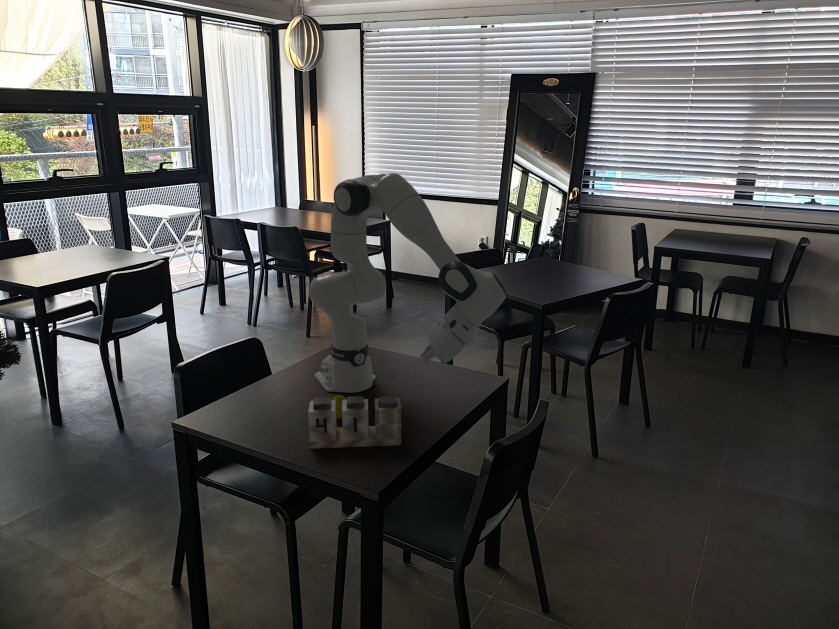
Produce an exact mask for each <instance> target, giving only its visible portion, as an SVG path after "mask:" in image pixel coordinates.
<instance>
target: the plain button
mask: <svg viewBox="0 0 839 629" xmlns="http://www.w3.org/2000/svg"><path fill="white" fill-rule="evenodd" d="M396 398H397V397H396V395H387V396H386V395H385V396H379V399H380V408H391V407H396Z"/></svg>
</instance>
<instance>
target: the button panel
mask: <svg viewBox="0 0 839 629" xmlns="http://www.w3.org/2000/svg"><path fill="white" fill-rule="evenodd" d="M395 398H396V407H391V408H380V398H374V414H375V415H374V417H375V418H374V422H375V425H370V426H369V400H368V399H369V398H364V396H361V395H359V396H347V397H346V399H347V400H343V402H342V418H341V420H342V422H341V423H342V427H341V426H340V427H339V426H338V425H337V418H336V400H332V399H331V397H330V396H328V397H327V396H326V397H314V398H313V400H310V401H309V406H308V410H307V415H308V433H309V449H311V450H312V449H337V448H360V447H362V448H363V447H387V446H388V447H389V446H390V445H391V446H403V445H402V444H403V443H402V406H401V398H400V397H395ZM337 426H338V427H337ZM391 446H390V447H391Z"/></svg>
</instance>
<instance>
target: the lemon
mask: <svg viewBox="0 0 839 629" xmlns="http://www.w3.org/2000/svg"><path fill="white" fill-rule="evenodd" d="M331 400H336V419H338V420H342V402H343V400H347V397H345V396H344V395H341V394H339V393H338V394H337V395H334V396H333V397H332V398H331Z"/></svg>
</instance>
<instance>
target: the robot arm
mask: <svg viewBox="0 0 839 629" xmlns="http://www.w3.org/2000/svg"><path fill="white" fill-rule="evenodd" d="M381 211H382V212H383V213H384V215H385V216H386V218H387V220H388V221H389V222H390V224H392V225H393V227H394V228H395V229H396V230H397V231H398V232H399V233H400V234H401V235H402V236H403V237H404V238H406V239H407V240H408V241H410V242H411V243H413V244H414V245H416V246H417V247H419V249H421V250H423V251H424V253H426V254H427V256H428V257H429V258H430V259H431V261H432V262H433V263H434V264H435V266H436V267H437V268H438V270H439V273H438V276H437V278H438V280H437V281H438V284H439V286H440V290H442V292H443V293H444V294H445V295H447V296H449V297H450V298H452V299H453V300H454V301H455V302H456V303H455V304H454V305H453V306H452V307H451V308H450V309H449V310H448V311H447V312H446V313H445V314H444V315H443V316H442V317H440V318H439V319H438V320H436V322H434V324H432V325H431V326H430V327H429V328H428V329H427V331H426V332H425V334H426V337H427V339H428V340H429V344H427V345H426V347H425V349H424V350H423V352H422V353H420V355H419V356H420V359H421V361H422V362H423V363H425V364H427V363H428V361H430V360H432V359H434V358H437V359H438V360H439V361H440V362H441V363H443V364H447V363H449V362H450V361H452V360H453V359H455V357H456V356H458V354H460V352H462V351H463V349H464V348H465V346H468V347H469V345H471V344H472V343H473V342H474V334H475V332H476V330H477V329H479V327H480V326H481V324H482V323H483V322H484V321H485V320H486V319H489V317H491V316H492V315H493V314H494V313H495V312H496V311H497V309H498V308H500V306H501V305H502V304H503V302H504V301H505V299H506V297H507V290H506V288H505V286H504V284H503V283H502V282H501V280H500V279H499V278H498V276H497V275H496V274H495V273H493V272H486V271H483V270H480V269H477V268H474V267H472V266H470V265H468V264H466V263H464V262H462V261H461V260H460V259H459V257H458V256H457V254H456V253H455V252H454V251H453V249H452V248H451V247H450V245H449V244H448V243H447V242H446V239H444V237H443V234H442V233H441V231H440V229H439V227H438V225H437V223H436V220H435V218H434V217H433V214H432V212H431V210H430V208H429V207H428V205H427V203H426V202H425V201H424V199H423V198H422V196H421V195H420V194H419V192H418V191H417V190H416V188H415V187H414V186H412V185H411V183H410V182H408V180H407V179H405V177H403V176H402V174H398V173H395V172H390V173H388V174H386V173H380V174H367V175H366V174H365V175H362V176H359V177H355V178H348V179H346V180H343V181H340V182H339V183H338V184H337V185H336V186H335V188H334V190H333V207H332V212H331V220H330V221H331V222H330V252H331V255H332V256H333V257H334V258H335V259H336V260H337V261H340V262H341V263H345V264H346V266H347V269H346V270H345V271H338V272H331V273H325V274H322V275H319V276H317V277H314V278H313V279H312V280H311V282H310V284H309V287H308V296H309V300H310V301H311V302H312V304H313V305H314V306H315V307H317V308H318V309H320V310H321V311H322V312H324V314H326V316H327V318H328V320H329V321H330V325H331V326H330V327H331V332H332V343H331V344H329V345H330V348H331V350H330V354H329V355H327V356H326V357H325V358H324V359H322V361H321V365H320V368H319V369H320V370H318V371H317V372H316V373H314V378H315V379H316V380H317V382H318V383H319V384H320V385H321V386H322V388H323V389H324V390H325V392H329V393H331V392H333V393H334V392H337V393H347V394H348V393H350V394H352V393H359V392H364V391H367V390H369V389H370V388H372V387H373V384H374V381H375V380H376V378H377V377H376V375H375V374H373V372H374V371H373V365H372V364H373V363H372V357H371V356H369V343H368V340H367V338H368V336H367V323H366V321H365V319H364V318H363V317H362V316H360V315H358V314H355V313H353V312H351V310H350V309H351V308H350V307H351V306H353V305H360V304H367V303H371V302H374V301H377V300H379V299H381V298H383V296H384V295H385V293H386V290H387V281H386V278H385V276H384V274H383V273H382V272H381V271H380V270H379V269H377V268H376V267H375V266H374V265H373V264H372V262H371V260H370V258H369V255H368V246H367V239H368V238H367V236H368V235H367V231H368V230H367V229H368V228H367V225H368V224H367V220H368V216H369V215H371V214H374V213H377V212H381Z"/></svg>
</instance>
